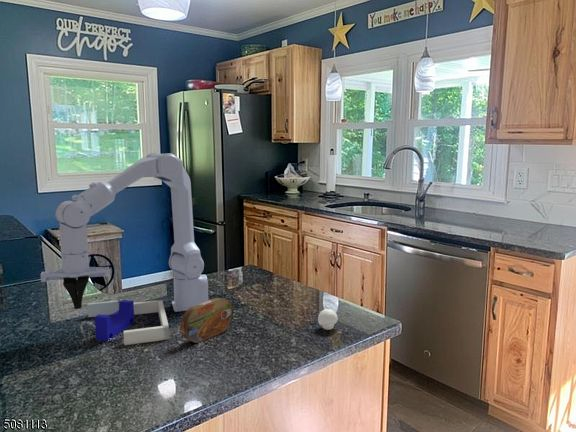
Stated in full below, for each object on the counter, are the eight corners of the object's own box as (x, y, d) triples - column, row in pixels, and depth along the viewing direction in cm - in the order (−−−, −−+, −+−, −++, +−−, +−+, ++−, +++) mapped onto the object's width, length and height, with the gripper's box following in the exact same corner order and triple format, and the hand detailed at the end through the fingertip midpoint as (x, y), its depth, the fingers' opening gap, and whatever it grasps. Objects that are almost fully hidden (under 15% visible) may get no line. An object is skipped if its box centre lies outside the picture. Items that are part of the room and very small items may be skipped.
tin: (187, 348, 98) (187, 312, 97) (178, 344, 100) (177, 309, 99) (234, 327, 110) (234, 295, 109) (225, 324, 112) (225, 292, 111)
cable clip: (118, 321, 114) (117, 299, 113) (134, 322, 113) (133, 300, 112) (90, 340, 102) (88, 316, 101) (107, 342, 101) (106, 317, 100)
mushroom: (323, 333, 107) (324, 314, 106) (314, 326, 111) (314, 307, 110) (341, 330, 109) (341, 311, 108) (331, 323, 113) (331, 305, 112)
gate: (122, 314, 119) (121, 299, 118) (88, 318, 116) (87, 303, 115) (122, 312, 119) (122, 298, 119) (88, 316, 116) (87, 302, 116)
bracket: (162, 309, 122) (162, 299, 121) (169, 339, 103) (168, 327, 102) (124, 314, 118) (123, 303, 118) (124, 345, 99) (123, 332, 99)
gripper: (36, 258, 96) (40, 317, 98) (107, 253, 101) (110, 309, 103) (42, 251, 103) (46, 306, 105) (108, 247, 108) (111, 300, 110)
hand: (78, 307), depth 104 cm, fingers closed
